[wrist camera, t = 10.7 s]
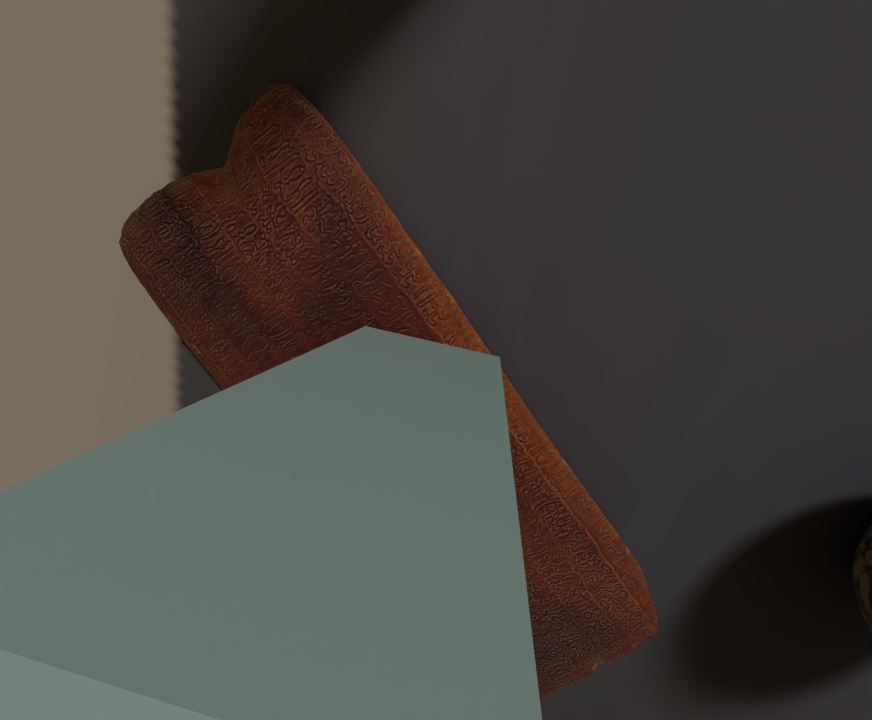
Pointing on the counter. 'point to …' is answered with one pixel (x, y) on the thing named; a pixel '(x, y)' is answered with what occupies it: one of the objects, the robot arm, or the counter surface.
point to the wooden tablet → (377, 308)
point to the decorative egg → (864, 576)
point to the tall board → (281, 553)
